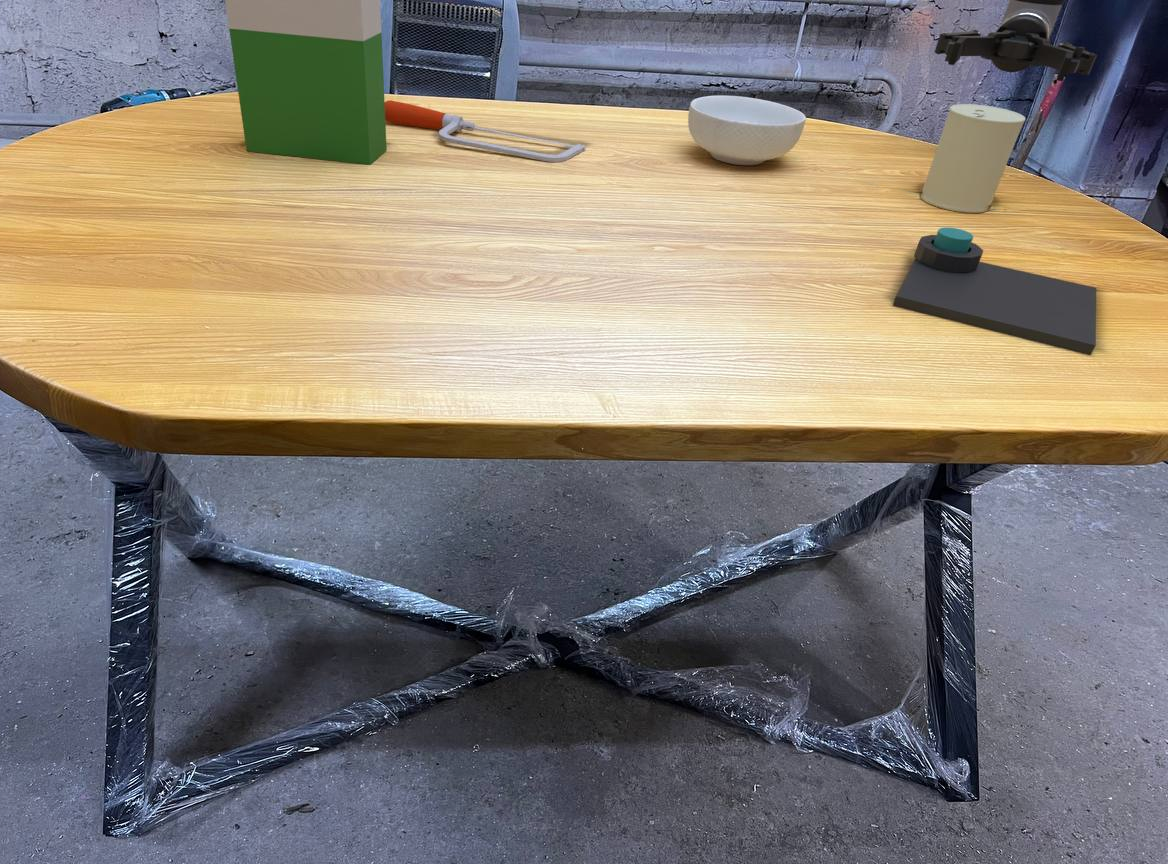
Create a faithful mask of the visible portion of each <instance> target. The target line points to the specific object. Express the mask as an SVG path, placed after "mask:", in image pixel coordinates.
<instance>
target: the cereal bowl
mask: <svg viewBox="0 0 1168 864" xmlns="http://www.w3.org/2000/svg"><path fill="white" fill-rule="evenodd" d="M687 120H688V121H687V127H688V131H689V134H690V136H691V137H692V139H693V141H694V142H695V143H696V144H697V145H698V146H700V147H701V149H703V150H705V151H707V152H709V154H710V156H711V157H712V158H714V159H715V160H716V161H719V162H722V163H726V164H731V165H737V166H756V165H757V166H758V165H761V164H763V163H764V162H765V161H768V160H773V159H777V158H780V157H783V156H784V155H786V154H787V153H789V152H790V151H792V149H794V148H795V146H796V145H797V144H798V142H799V141H800V138H801V136H802V135H803V134H802V133H803V131H804V127H805V124H806V121H807V117H806V115H805V113H803V112H801V111H800V110H798V109H795V108H794V107H790V106H788V105H786V104H781V103H778V102H774V101H770V100H765V99H760V98H756V97H755V98H754V97H748V96H741V95H738V96H737V95H708V96H702V97H700V96H699V97H697V98H695V99H693V100H692V101H690V104H689V107H688V115H687Z"/></svg>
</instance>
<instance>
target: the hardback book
mask: <svg viewBox="0 0 1168 864" xmlns="http://www.w3.org/2000/svg"><path fill="white" fill-rule="evenodd" d="M224 3H225V10H226V16H227V23H228V31H229V37H230V44H231V52H232V58H233V59H232V60H233V67H234V73H235V79H236V87H237V94H238V100H239V107H240V114H241V121H242V128H243V136H244V142H245V149H246V152H250V153H251V152H252V153H260V154H267V155H268V154H269V155H278V156H288V157H297V158H304V159H315V160H322V161H333V162H341V163H349V164H350V163H351V164H359V165H369V166H371V165H372V164H373V163H374V162H375V161H376V160H378V159H379V158H380V157H381V156H383V154H384V153H385V152H387V151H388V149H387V125H386V121H385V102H386V100H385V83H384V82H385V81H384V80H385V79H384V59H383V36H382V35H383V34H382V16H381V15H382V13H381V12H382V11H381V0H224Z"/></svg>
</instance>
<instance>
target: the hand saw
mask: <svg viewBox="0 0 1168 864" xmlns="http://www.w3.org/2000/svg"><path fill="white" fill-rule="evenodd" d="M385 122H388V123H392V124H397V125H402V126H403V125H404V126H410V127H417V128H423V129H424V128H425V129H432V130H433V129H434V130H439V131H438V138H439V139H440V140H441V141H443V142H445V143H449V144H455V145H460V146H466V147H470V148H476V149H481V150H484V151H485V150H486V151H492V152H495V153H501V154H506V155H511V156H516V157H521V158H526V159H532V160H537V161H541V162H542V161H543V162H548V163H559V162H560V163H561V162H565V161H568V160H570V159H571V158H573V157H576V156H577V155H578V154H580V153H582V152H584V151H585V150H586V145H584V144H580V143H578V144H576V145H573V144H570V143H569V144H568V143H564V142H559V141H558V142H557V141H553V140H548V139H542V138H537V137H532V136H526V135H521V134H516V133H510V132H507V131H506V132H504V131H501V130H495V129H490V128H484V127H479V126H476V124H475V122H473V121H469V120H464V118H463V116H462V115H458V114H449V113H445V112H443V111H442V112H441V111H439V110H435V109H432V108H426V107H424V106H419V105H415V104H411V103H406V102H402V101H396V100H392V99H389V100H388V99H387V100H385ZM475 129H476V130H481V131H488V132H493V133H497V134H503V135H506V136H507V135H508V136H513V137H519V138H524V139H529V140H534V141H540V142H546V143H549V144H550V143H551V144H554V145H555V144H556V145H561V146H565V147H570V148H568V149H567V150H565V151H563V152H561V153H559V154H546V153H540V152H535V151H531V150H524V149H520V148H515V147H509V146H505V145H501V144H500V145H499V144H495V143H494V144H493V143H489V142H483V141H478V140H473V139H469V138H462V137H457V136H453V135H450V134H452V133H458V134H461V133H462V131H467V132H474V131H475Z"/></svg>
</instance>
